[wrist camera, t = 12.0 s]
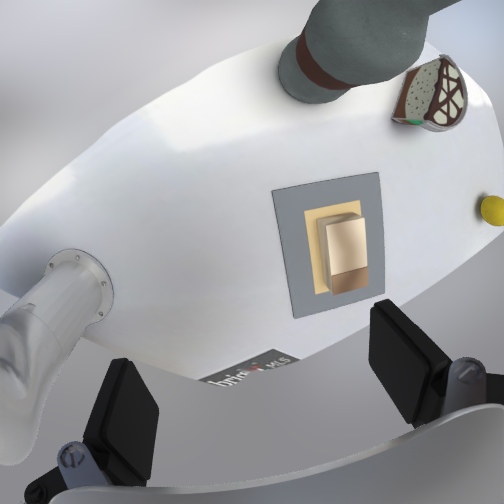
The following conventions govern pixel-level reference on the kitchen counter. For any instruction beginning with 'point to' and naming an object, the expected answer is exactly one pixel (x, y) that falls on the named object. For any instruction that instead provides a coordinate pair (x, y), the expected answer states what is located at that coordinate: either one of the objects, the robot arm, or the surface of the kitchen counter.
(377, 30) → the bottle
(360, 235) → the birch block
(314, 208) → the mat
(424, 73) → the food container
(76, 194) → the kitchen counter surface
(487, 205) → the lemon
